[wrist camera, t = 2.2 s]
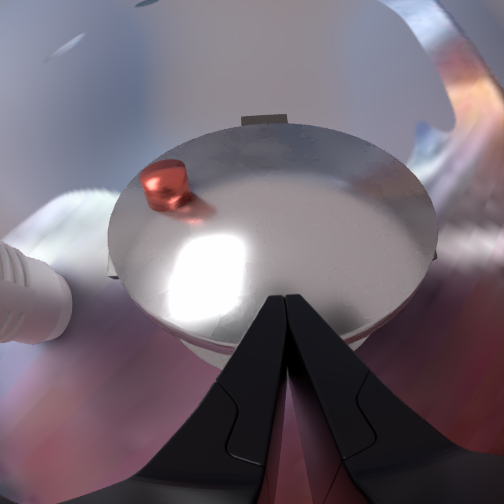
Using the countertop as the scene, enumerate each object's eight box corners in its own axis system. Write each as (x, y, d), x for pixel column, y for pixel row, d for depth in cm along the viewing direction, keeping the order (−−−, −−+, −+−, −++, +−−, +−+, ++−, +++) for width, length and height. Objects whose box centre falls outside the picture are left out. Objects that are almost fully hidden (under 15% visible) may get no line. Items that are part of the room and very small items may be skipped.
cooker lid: (480, 331, 9) (512, 290, 7) (75, 354, 10) (39, 317, 8) (375, 136, 19) (379, 103, 17) (155, 148, 20) (147, 116, 18)
